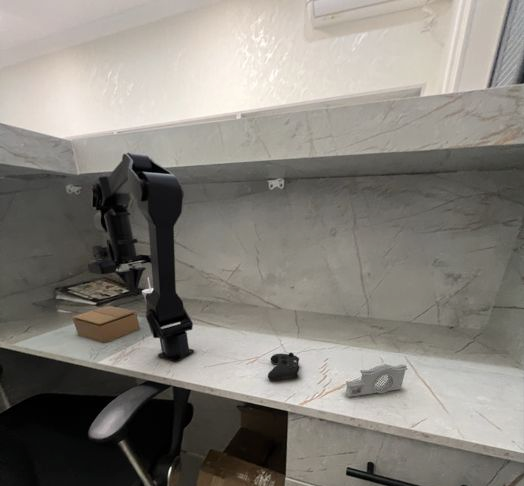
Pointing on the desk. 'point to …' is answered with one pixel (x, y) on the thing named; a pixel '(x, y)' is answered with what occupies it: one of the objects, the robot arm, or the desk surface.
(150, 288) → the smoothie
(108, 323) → the cardboard box
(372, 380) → the garden wall model
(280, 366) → the game controller
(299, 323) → the desk surface
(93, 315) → the flap
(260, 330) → the desk surface
